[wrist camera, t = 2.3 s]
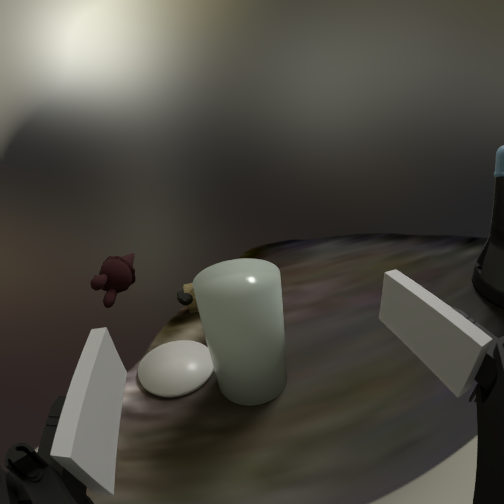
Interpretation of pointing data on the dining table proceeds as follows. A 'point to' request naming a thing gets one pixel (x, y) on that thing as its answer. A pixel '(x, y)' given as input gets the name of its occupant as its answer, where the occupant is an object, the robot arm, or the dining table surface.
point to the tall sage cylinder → (244, 328)
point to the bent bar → (188, 297)
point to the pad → (176, 368)
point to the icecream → (114, 277)
